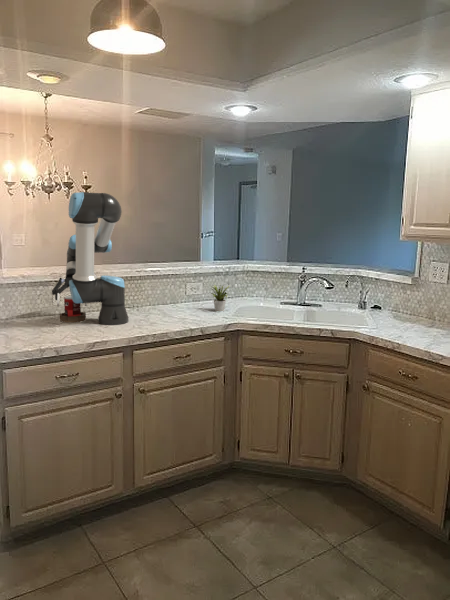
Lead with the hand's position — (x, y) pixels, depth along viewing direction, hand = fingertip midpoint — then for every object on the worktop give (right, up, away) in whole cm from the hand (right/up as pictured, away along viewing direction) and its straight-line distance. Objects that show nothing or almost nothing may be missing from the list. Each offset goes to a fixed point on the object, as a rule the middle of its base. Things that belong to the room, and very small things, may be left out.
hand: (71, 304), depth 256 cm
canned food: (0, -7, +3) cm, 7 cm away
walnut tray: (0, -8, +3) cm, 8 cm away
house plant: (+74, -4, +32) cm, 80 cm away
